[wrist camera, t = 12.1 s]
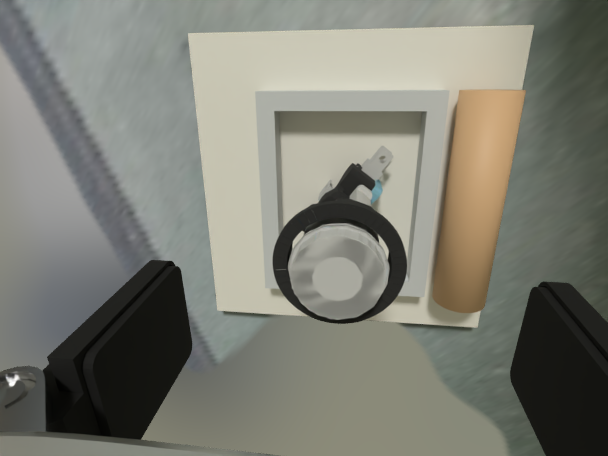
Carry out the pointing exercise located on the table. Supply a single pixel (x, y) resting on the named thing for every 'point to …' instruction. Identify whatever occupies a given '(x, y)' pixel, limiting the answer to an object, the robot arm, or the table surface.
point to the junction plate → (361, 151)
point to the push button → (342, 250)
